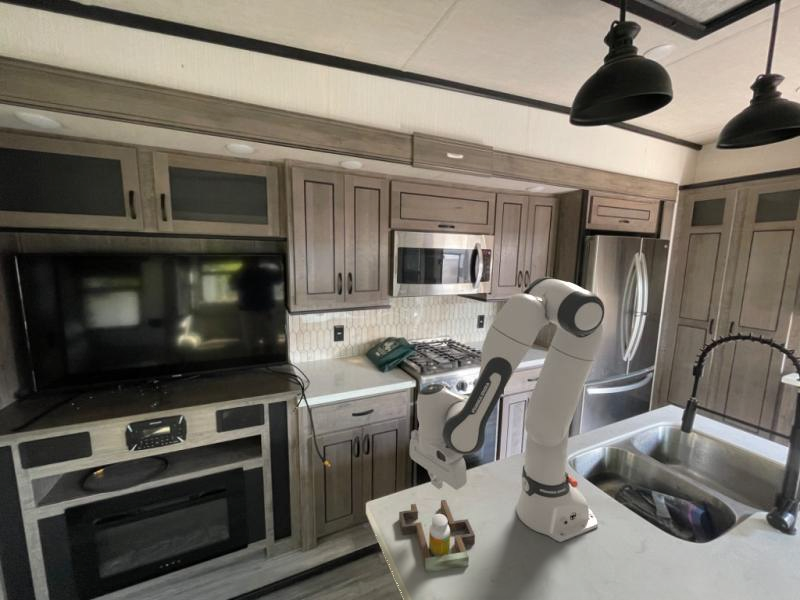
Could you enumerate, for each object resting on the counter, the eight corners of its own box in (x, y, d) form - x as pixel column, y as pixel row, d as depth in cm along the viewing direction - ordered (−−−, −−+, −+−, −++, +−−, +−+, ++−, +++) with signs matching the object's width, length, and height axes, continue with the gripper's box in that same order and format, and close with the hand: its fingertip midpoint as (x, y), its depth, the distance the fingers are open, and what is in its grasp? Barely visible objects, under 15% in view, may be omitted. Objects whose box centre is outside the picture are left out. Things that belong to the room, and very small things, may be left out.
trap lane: (457, 505, 103) (457, 498, 103) (483, 562, 84) (483, 554, 84) (398, 513, 100) (398, 506, 100) (410, 575, 81) (410, 566, 81)
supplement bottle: (444, 565, 84) (445, 531, 82) (425, 555, 87) (426, 522, 85) (452, 548, 88) (453, 516, 87) (434, 539, 91) (434, 508, 90)
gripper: (403, 431, 100) (406, 473, 102) (452, 461, 84) (455, 511, 85) (419, 424, 104) (421, 464, 105) (469, 451, 87) (471, 499, 89)
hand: (437, 485), depth 95 cm, fingers closed
